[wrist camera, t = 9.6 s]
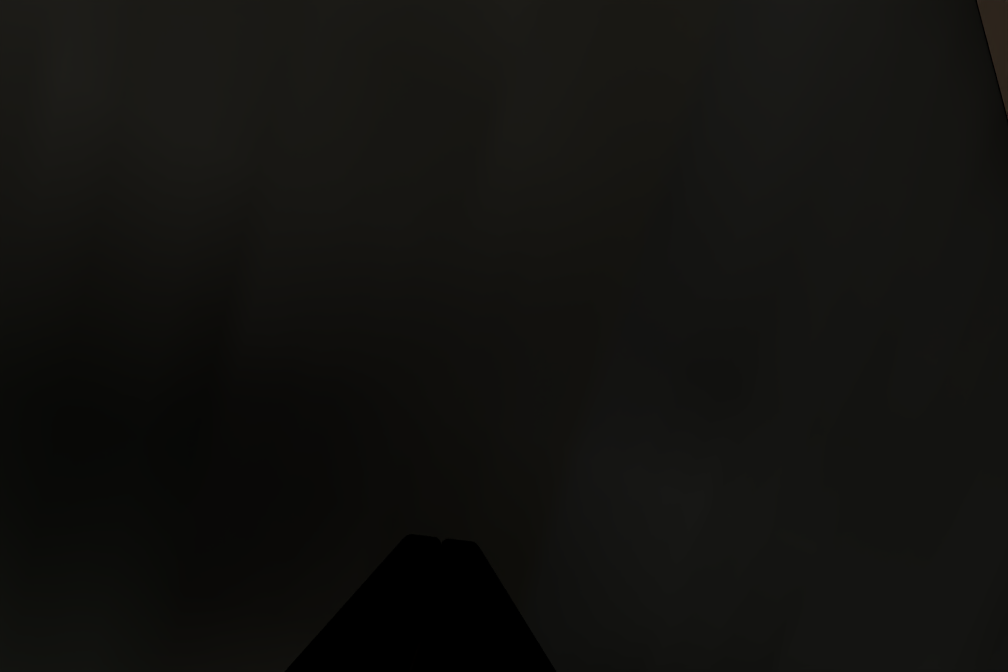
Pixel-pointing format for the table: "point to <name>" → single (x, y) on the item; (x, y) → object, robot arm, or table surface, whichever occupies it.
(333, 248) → the table surface
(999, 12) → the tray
